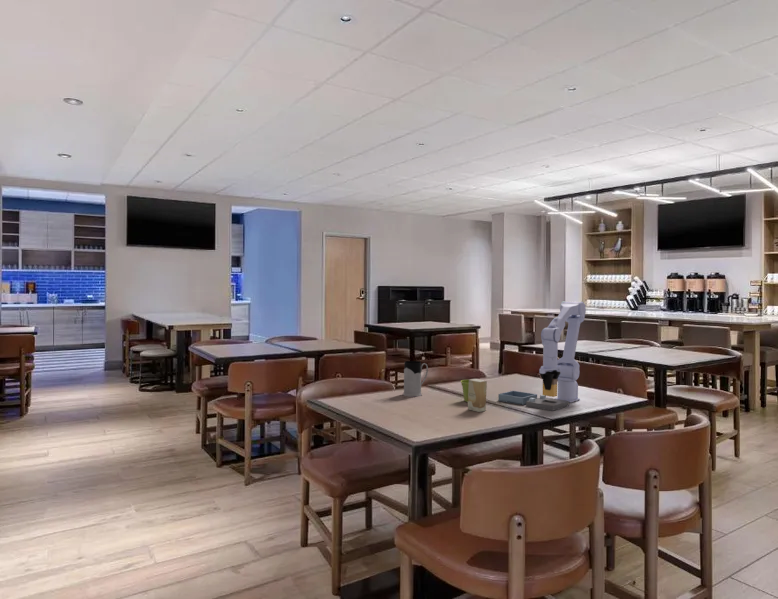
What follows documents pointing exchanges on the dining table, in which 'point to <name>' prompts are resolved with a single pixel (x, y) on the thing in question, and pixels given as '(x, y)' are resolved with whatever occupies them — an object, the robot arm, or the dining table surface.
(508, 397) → the parts tray
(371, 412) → the dining table surface
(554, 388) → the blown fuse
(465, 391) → the plant pot
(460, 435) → the dining table surface
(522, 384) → the dining table surface
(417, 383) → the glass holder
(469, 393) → the skincare box
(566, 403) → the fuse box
